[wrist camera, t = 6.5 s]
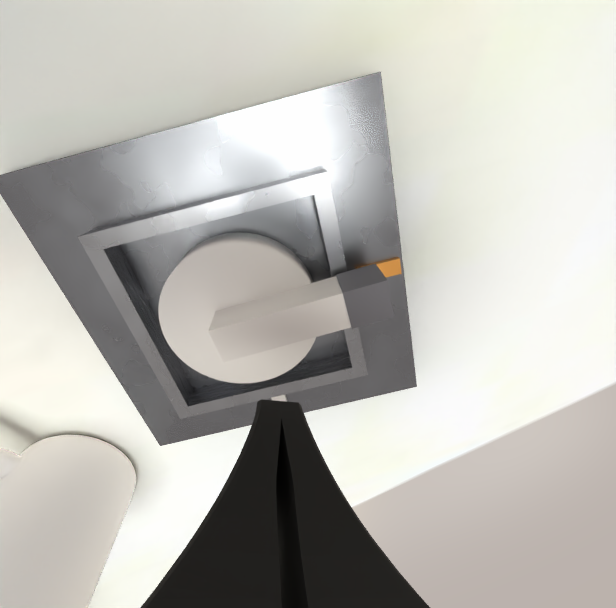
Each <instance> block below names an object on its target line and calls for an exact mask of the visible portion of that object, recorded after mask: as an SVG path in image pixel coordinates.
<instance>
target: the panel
mask: <svg viewBox="0 0 616 608" xmlns="http://www.w3.org/2000/svg"><path fill="white" fill-rule="evenodd" d="M0 194H1V196H2V197H3V199H4V200H5V202H6V203H7V205H8V207H9V208H10V210H11V211H12V213H13V215H14V216H15V218H16V219H17V221H18V222H19V224H20V226H21V227H22V229H23V230H24V232H25V233H26V235H27V237H28V238H29V240H30V241H31V243H32V244H33V246H34V248H35V249H36V251H37V252H38V254H39V255H40V257H41V259H42V260H43V262H44V263H45V265H46V267H47V268H48V270H49V271H50V273H51V274H52V276H53V278H54V279H55V281H56V282H57V284H58V285H59V287H60V289H61V290H62V292H63V293H64V295H65V296H66V298H67V300H68V301H69V303H70V304H71V306H72V308H73V309H74V311H75V312H76V314H77V315H78V317H79V319H80V320H81V322H82V323H83V325H84V326H85V328H86V330H87V331H88V333H89V334H90V336H91V337H92V339H93V341H94V342H95V344H96V345H97V347H98V348H99V350H100V352H101V353H102V355H103V356H104V358H105V360H106V361H107V363H108V364H109V366H110V367H111V369H112V371H113V372H114V374H115V375H116V377H117V378H118V380H119V382H120V383H121V385H122V386H123V388H124V389H125V391H126V393H127V394H128V396H129V397H130V399H131V400H132V402H133V404H134V405H135V407H136V408H137V410H138V412H139V413H140V415H141V416H142V418H143V419H144V421H145V423H146V424H147V426H148V427H149V429H150V430H151V432H152V434H153V435H154V437H155V438H156V440H157V441H158V443H159V445H160V446H162V445H167V444H171V443H175V442H179V441H184V440H188V439H192V438H197V437H201V436H205V435H210V434H214V433H218V432H223V431H227V430H231V429H236V428H240V427H244V426H249V425H252V424H253V420H254V417H255V413H256V407H257V402H258V401H259V400H261V399H263V400H275V401H287V402H299V404H300V405H301V407H302V410H303V413H305V412H309V411H313V410H318V409H322V408H326V407H331V406H335V405H339V404H344V403H348V402H352V401H356V400H361V399H365V398H369V397H374V396H378V395H382V394H387V393H391V392H395V391H400V390H404V389H408V388H413V387H417V385H416V376H415V367H414V358H413V350H412V341H411V332H410V323H409V315H408V306H407V297H406V289H405V280H404V271H403V262H402V254H401V245H400V236H399V227H398V219H397V210H396V201H395V193H394V184H393V175H392V166H391V158H390V149H389V140H388V131H387V123H386V114H385V105H384V97H383V88H382V79H381V72H378V73H374V74H371V75H367V76H363V77H360V78H356V79H352V80H348V81H345V82H341V83H337V84H334V85H330V86H326V87H323V88H319V89H315V90H312V91H308V92H304V93H301V94H297V95H293V96H290V97H286V98H282V99H279V100H275V101H271V102H268V103H264V104H260V105H256V106H253V107H249V108H245V109H242V110H238V111H234V112H231V113H227V114H223V115H220V116H216V117H212V118H209V119H205V120H201V121H198V122H194V123H190V124H187V125H183V126H179V127H176V128H172V129H168V130H165V131H161V132H157V133H153V134H150V135H146V136H142V137H139V138H135V139H131V140H128V141H124V142H120V143H117V144H113V145H109V146H106V147H102V148H98V149H95V150H91V151H87V152H84V153H80V154H76V155H73V156H69V157H65V158H61V159H58V160H54V161H50V162H47V163H43V164H39V165H36V166H32V167H28V168H25V169H21V170H17V171H14V172H10V173H6V174H3V175H0ZM236 232H240V233H252V234H258V235H262V236H265V237H268V238H271V239H273V240H275V241H277V242H279V243H281V244H282V245H284V246H286V247H287V248H288V249H290V250H291V251H292V252H293V253H295V254H296V256H297V257H298V258H299V259H300V260H301V261H302V262H303V264H304V265H305V266H306V268H307V270H308V271H309V273H310V275H311V278H312V280H313V282H317V281H320V280H324V279H328V278H331V277H335V276H336V275H337V274H340V273H344V272H347V271H351V270H354V269H358V268H361V267H365V266H368V265H372V264H375V263H376V265H377V266H378V268H379V269H380V270H381V272H382V273H383V275H384V276H385V277H386V279H387V280H388V285H389V290H390V296H391V301H392V307H393V312H394V317H393V318H389V319H386V320H382V321H378V322H375V323H371V324H368V325H364V326H360V327H357V328H353V329H352V328H347V329H344V330H340V331H336V332H333V333H329V334H325V335H322V336H318V337H316V339H315V341H314V344H313V345H312V347H311V349H310V351H309V352H308V353H307V355H306V356H305V357H304V358H303V359H302V360H301V361H300V362H299V363H298V364H297V365H296V366H294V367H293V368H292V369H290V370H289V371H287V372H285V373H284V374H282V375H280V376H277V377H275V378H272V379H269V380H266V381H261V382H255V383H230V382H225V381H220V380H216V379H213V378H210V377H208V376H206V375H203V374H201V373H199V372H197V371H196V370H194V369H192V368H191V367H190V366H188V365H187V364H185V363H184V362H183V361H182V360H181V359H180V358H179V357H178V356H177V355H176V354H175V353H174V351H173V350H172V349H171V347H170V346H169V344H168V343H167V341H166V339H165V337H164V335H163V332H162V329H161V326H160V321H159V313H158V306H159V299H160V295H161V292H162V289H163V286H164V284H165V282H166V280H167V278H168V277H169V276H170V274H171V273H172V272H173V270H174V269H175V268H176V266H177V265H178V264H179V262H180V261H181V260H182V259H183V257H184V256H185V255H186V254H187V253H188V252H189V251H190V250H191V249H192V248H194V247H195V246H197V245H198V244H199V243H201V242H203V241H205V240H207V239H209V238H212V237H215V236H218V235H222V234H226V233H236Z"/></svg>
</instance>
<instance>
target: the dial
mask: <svg viewBox="0 0 616 608" xmlns="http://www.w3.org/2000/svg"><path fill="white" fill-rule="evenodd" d="M158 313H159V321H160V326H161V329H162V332H163V335H164V337H165V339H166V341H167V343H168V344H169V346H170V347H171V349H172V350H173V351H174V353H175V354H176V355H177V356H178V357H179V358H180V359H181V360H182V361H183V362H184V363H185V364H187V365H188V366H190V367H191V368H192V369H194V370H196V371H197V372H199V373H201V374H203V375H206V376H208V377H210V378H213V379H216V380H220V381H225V382H230V383H255V382H261V381H266V380H269V379H272V378H275V377H277V376H280V375H282V374H284V373H285V372H287V371H289V370H290V369H292V368H293V367H294V366H296V365H297V364H298V363H299V362H300V361H301V360H302V359H303V358H304V357H305V356H306V355H307V353H308V352H309V351H310V349H311V347H312V345H313V344H314V341H315V339H316V337H318V336H322V335H325V334H329V333H333V332H336V331H340V330H344V329H347V328H352V329H353V328H357V327H360V326H364V325H368V324H371V323H375V322H378V321H382V320H386V319H389V318H393V317H394V312H393V307H392V301H391V296H390V290H389V285H388V280H387V279H386V277H385V276H384V275H383V273H382V272H381V270H380V269H379V268H378V266H377V265H376V263H375V264H372V265H368V266H365V267H361V268H358V269H354V270H351V271H347V272H344V273H340V274H337V275H336V276H335V277H331V278H328V279H324V280H320V281H317V282H313V280H312V278H311V275H310V273H309V271H308V270H307V268H306V266H305V265H304V264H303V262H302V261H301V260H300V259H299V258H298V257H297V256H296V254H295V253H293V252H292V251H291V250H290V249H288V248H287V247H286V246H284V245H282V244H281V243H279V242H277V241H275V240H273V239H271V238H268V237H265V236H262V235H258V234H252V233H240V232H236V233H226V234H222V235H218V236H215V237H212V238H209V239H207V240H205V241H203V242H201V243H199V244H198V245H197V246H195V247H194V248H192V249H191V250H190V251H189V252H188V253H187V254H186V255H185V256H184V257H183V259H182V260H181V261H180V262H179V264H178V265H177V266H176V268H175V269H174V270H173V272H172V273H171V274H170V276H169V277H168V278H167V280H166V282H165V284H164V286H163V289H162V292H161V295H160V299H159V306H158Z"/></svg>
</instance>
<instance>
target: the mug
mask: <svg viewBox="0 0 616 608" xmlns="http://www.w3.org/2000/svg"><path fill="white" fill-rule="evenodd" d="M135 486H136V473H135V469H134V467H133V465H132V463H131V462H130V460H129V459H128V458H127V456H126V455H125V454H124V453H123V452H121V451H120V450H119V449H118V448H116V447H114V446H113V445H111V444H109V443H107V442H105V441H102V440H100V439H97V438H93V437H89V436H83V435H59V436H53V437H49V438H45V439H43V440H40V441H38V442H36V443H34V444H32V445H31V446H29V447H28V448H27V449H26V450H24V451H23V452H22V453H21V455H18V454H16V453H14V452H11V451H9V450H6V449H3V448H0V608H88V605H89V603H90V601H91V598H92V596H93V593H94V591H95V588H96V586H97V583H98V581H99V578H100V576H101V573H102V571H103V569H104V566H105V564H106V561H107V559H108V556H109V554H110V551H111V549H112V546H113V544H114V541H115V539H116V536H117V534H118V532H119V529H120V527H121V524H122V522H123V519H124V517H125V514H126V512H127V509H128V507H129V504H130V502H131V499H132V496H133V493H134V490H135Z"/></svg>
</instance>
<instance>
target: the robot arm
mask: <svg viewBox="0 0 616 608" xmlns="http://www.w3.org/2000/svg"><path fill="white" fill-rule="evenodd" d="M141 608H430V607H429V606H428V605H427V604H426V603H425V602H424V600H423V599H422V598H421V597H420V596H419V595H418V594H417V593H416V591H415V590H414V589H413V588H412V587H411V586H410V585H409V583H408V582H407V581H406V580H405V579H404V577H403V576H402V575H401V574H400V573H399V571H398V570H397V569H396V568H395V566H394V565H393V564H392V563H391V561H390V560H389V559H388V557H387V556H386V555H385V554H384V552H383V551H382V550H381V548H380V547H379V546H378V545H377V543H376V542H375V541H374V539H373V538H372V537H371V535H370V534H369V533H368V531H367V530H366V528H365V527H364V525H363V524H362V523H361V521H360V520H359V518H358V517H357V515H356V514H355V512H354V511H353V509H352V508H351V506H350V505H349V503H348V501H347V500H346V498H345V497H344V495H343V493H342V492H341V490H340V488H339V486H338V485H337V483H336V481H335V479H334V478H333V476H332V474H331V472H330V470H329V468H328V467H327V465H326V463H325V461H324V459H323V457H322V455H321V453H320V451H319V448H318V446H317V444H316V442H315V440H314V438H313V435H312V433H311V431H310V428H309V426H308V423H307V421H306V418H305V416H304V413H303V410H302V407H301V405H300V404H299V402H287V401H275V400H263V399H261V400H259V401H258V402H257V407H256V413H255V417H254V420H253V424H252V426H251V429H250V432H249V435H248V437H247V439H246V442H245V444H244V447H243V449H242V451H241V454H240V456H239V458H238V460H237V462H236V464H235V466H234V468H233V470H232V472H231V474H230V476H229V478H228V480H227V481H226V483H225V485H224V487H223V489H222V491H221V492H220V494H219V496H218V498H217V499H216V501H215V503H214V504H213V506H212V508H211V509H210V511H209V513H208V514H207V516H206V517H205V519H204V520H203V522H202V523H201V525H200V527H199V528H198V530H197V531H196V533H195V534H194V536H193V537H192V539H191V540H190V542H189V543H188V545H187V546H186V548H185V549H184V550H183V552H182V553H181V555H180V556H179V557H178V559H177V560H176V561H175V563H174V564H173V566H172V567H171V568H170V570H169V571H168V572H167V574H166V575H165V577H164V578H163V579H162V581H161V582H160V583H159V585H158V586H157V587H156V589H155V590H154V591H153V593H152V594H151V595H150V597H149V598H148V599H147V600H146V602H145V603H144V604H143V605H142V606H141Z"/></svg>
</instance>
